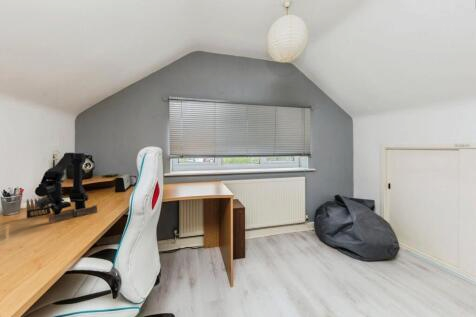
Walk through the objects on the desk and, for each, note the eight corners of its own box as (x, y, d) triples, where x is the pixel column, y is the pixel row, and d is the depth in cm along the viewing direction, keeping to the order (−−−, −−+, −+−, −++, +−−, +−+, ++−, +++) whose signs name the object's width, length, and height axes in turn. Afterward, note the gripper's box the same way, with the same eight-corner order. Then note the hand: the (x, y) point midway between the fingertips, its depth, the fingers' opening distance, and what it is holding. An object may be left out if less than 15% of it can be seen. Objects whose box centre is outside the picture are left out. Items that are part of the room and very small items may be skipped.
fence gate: (48, 223, 112) (48, 215, 112) (71, 217, 121) (71, 210, 120) (50, 223, 111) (49, 216, 110) (73, 217, 120) (72, 210, 119)
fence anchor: (72, 217, 121) (71, 209, 121) (96, 211, 130) (95, 204, 130) (73, 217, 120) (72, 210, 119) (97, 212, 129) (96, 205, 129)
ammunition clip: (26, 218, 121) (24, 199, 120) (27, 217, 122) (25, 199, 121) (50, 214, 127) (48, 196, 126) (50, 213, 129) (49, 196, 128)
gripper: (28, 192, 110) (29, 219, 111) (46, 197, 103) (48, 225, 104) (52, 188, 120) (54, 212, 122) (71, 192, 113) (72, 218, 115)
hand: (56, 217), depth 115 cm, fingers closed
